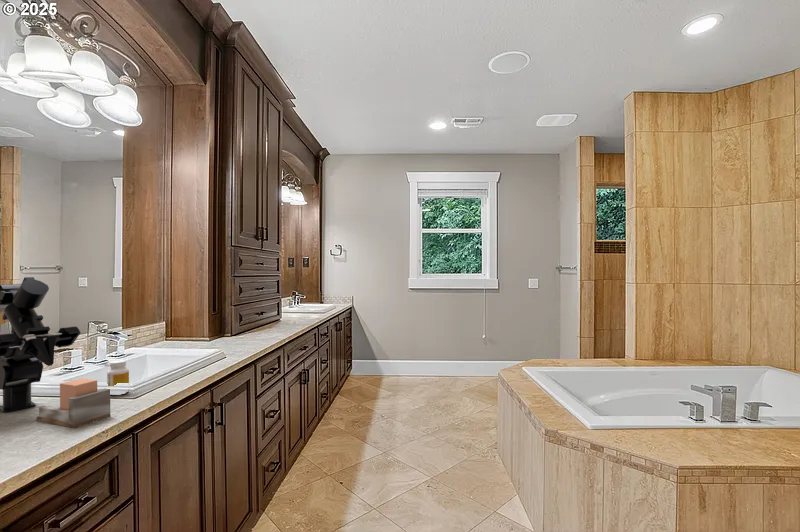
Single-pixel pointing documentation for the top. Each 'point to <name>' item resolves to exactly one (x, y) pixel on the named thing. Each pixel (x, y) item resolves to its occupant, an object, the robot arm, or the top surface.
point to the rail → (79, 410)
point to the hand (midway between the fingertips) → (51, 364)
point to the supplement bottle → (117, 373)
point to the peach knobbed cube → (75, 390)
